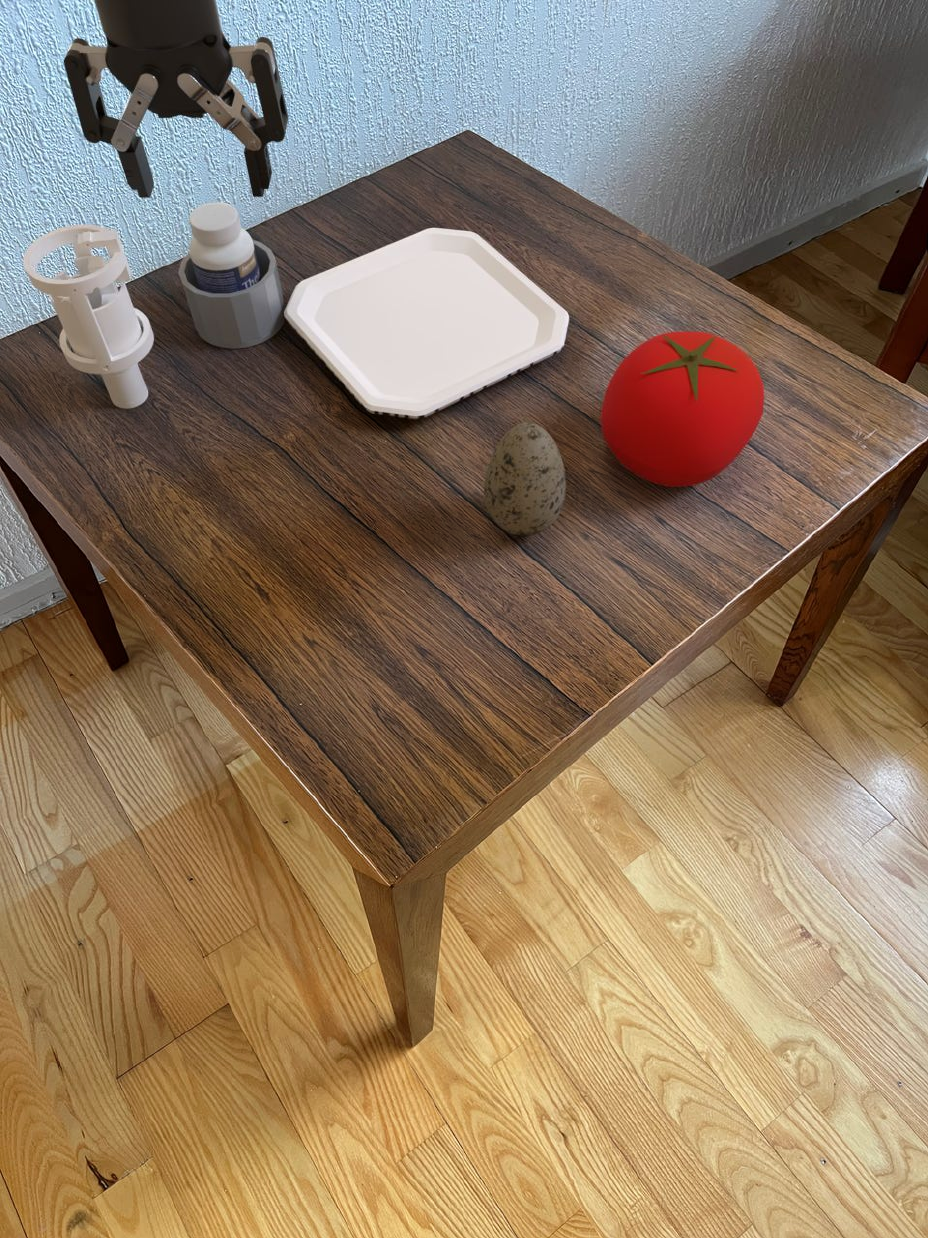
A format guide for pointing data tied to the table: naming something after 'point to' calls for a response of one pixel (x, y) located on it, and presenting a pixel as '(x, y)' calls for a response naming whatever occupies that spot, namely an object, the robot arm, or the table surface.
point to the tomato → (682, 407)
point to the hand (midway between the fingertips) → (203, 191)
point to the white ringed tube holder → (96, 310)
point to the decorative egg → (525, 481)
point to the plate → (426, 322)
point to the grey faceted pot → (237, 306)
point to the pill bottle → (221, 250)
